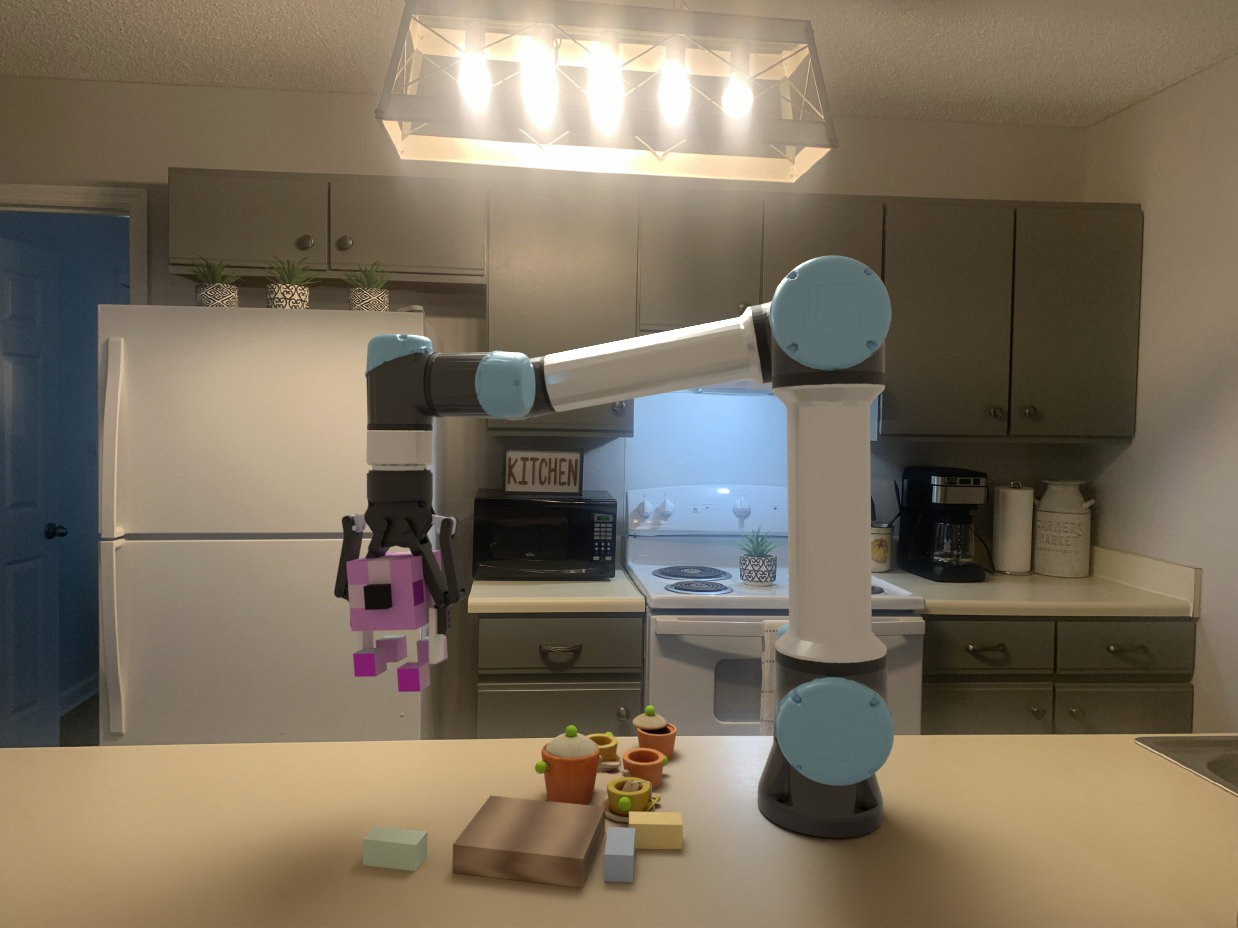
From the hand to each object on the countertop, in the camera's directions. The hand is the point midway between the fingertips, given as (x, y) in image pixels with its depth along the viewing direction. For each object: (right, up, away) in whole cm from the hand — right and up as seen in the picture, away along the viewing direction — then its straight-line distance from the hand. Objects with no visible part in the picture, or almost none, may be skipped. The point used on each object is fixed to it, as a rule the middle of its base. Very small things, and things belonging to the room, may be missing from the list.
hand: (400, 658), depth 97 cm
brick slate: (+26, -20, -9) cm, 34 cm away
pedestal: (+16, -20, -6) cm, 26 cm away
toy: (0, -3, 0) cm, 3 cm away
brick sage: (+2, -20, -9) cm, 22 cm away
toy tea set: (+25, -20, +13) cm, 35 cm away
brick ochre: (+30, -20, -4) cm, 36 cm away
